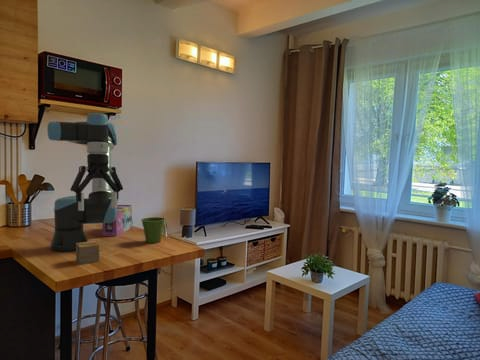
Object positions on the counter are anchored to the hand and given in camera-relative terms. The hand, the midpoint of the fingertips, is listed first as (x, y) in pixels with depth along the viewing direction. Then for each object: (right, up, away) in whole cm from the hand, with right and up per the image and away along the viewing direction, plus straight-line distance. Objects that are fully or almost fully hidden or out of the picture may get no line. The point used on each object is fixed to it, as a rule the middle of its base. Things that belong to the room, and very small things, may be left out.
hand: (98, 209), depth 133 cm
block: (-6, -21, +5) cm, 23 cm away
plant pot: (+11, -19, +38) cm, 44 cm away
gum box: (-13, -18, +59) cm, 63 cm away
